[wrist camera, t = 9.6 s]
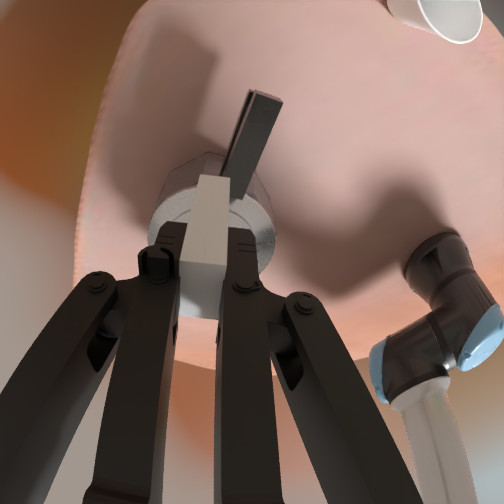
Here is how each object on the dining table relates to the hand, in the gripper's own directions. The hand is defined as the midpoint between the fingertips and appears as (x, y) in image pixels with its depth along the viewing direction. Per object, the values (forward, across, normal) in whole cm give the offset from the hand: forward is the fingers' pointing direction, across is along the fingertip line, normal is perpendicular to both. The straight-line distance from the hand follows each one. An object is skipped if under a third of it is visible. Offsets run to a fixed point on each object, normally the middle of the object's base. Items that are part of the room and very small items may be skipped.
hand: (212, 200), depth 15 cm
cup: (+26, +20, +21) cm, 39 cm away
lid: (+17, +1, -11) cm, 20 cm away
